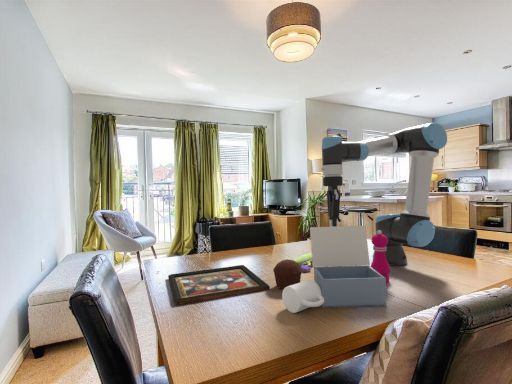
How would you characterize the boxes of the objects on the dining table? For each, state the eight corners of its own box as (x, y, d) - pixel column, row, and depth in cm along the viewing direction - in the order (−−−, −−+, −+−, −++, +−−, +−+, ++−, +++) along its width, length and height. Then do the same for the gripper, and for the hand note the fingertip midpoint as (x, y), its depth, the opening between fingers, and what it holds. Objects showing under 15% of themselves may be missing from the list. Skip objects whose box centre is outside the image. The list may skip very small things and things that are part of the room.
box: (369, 289, 105) (369, 265, 105) (386, 306, 91) (385, 278, 91) (314, 291, 106) (313, 267, 106) (322, 307, 92) (321, 279, 92)
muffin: (295, 294, 104) (294, 266, 104) (268, 289, 110) (267, 263, 110) (307, 283, 114) (306, 258, 114) (282, 279, 120) (281, 255, 120)
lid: (369, 265, 105) (369, 265, 106) (365, 225, 108) (364, 225, 109) (313, 266, 106) (312, 266, 106) (310, 227, 109) (309, 227, 110)
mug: (282, 308, 93) (281, 283, 93) (304, 300, 99) (303, 276, 98) (309, 322, 83) (309, 294, 83) (332, 312, 89) (331, 286, 89)
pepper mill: (389, 277, 118) (388, 228, 117) (391, 283, 111) (390, 231, 110) (370, 276, 120) (369, 228, 119) (371, 282, 113) (370, 231, 112)
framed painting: (178, 312, 94) (177, 303, 93) (159, 281, 125) (159, 275, 125) (278, 289, 111) (277, 282, 111) (240, 268, 142) (240, 262, 142)
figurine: (346, 267, 135) (346, 255, 135) (296, 275, 126) (295, 262, 126) (324, 258, 152) (323, 247, 152) (278, 264, 143) (277, 253, 143)
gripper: (319, 176, 120) (321, 233, 121) (326, 175, 107) (328, 239, 108) (337, 176, 120) (339, 232, 121) (346, 175, 107) (348, 238, 108)
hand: (334, 235), depth 115 cm, fingers closed
